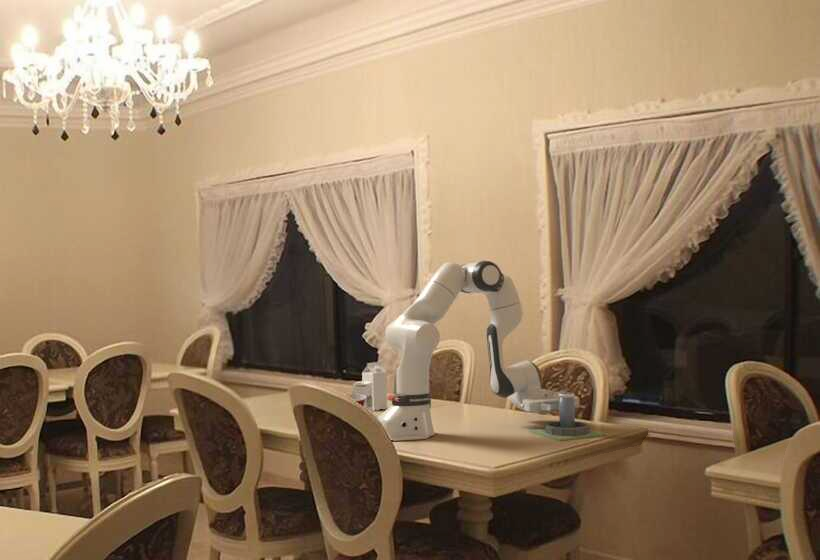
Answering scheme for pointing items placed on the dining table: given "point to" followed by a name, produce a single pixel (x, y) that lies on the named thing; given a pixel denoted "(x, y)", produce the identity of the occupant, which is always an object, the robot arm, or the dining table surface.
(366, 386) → the syrup box
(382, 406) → the milk carton
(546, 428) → the practice green
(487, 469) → the dining table surface
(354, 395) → the plastic cup
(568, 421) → the ball tube
